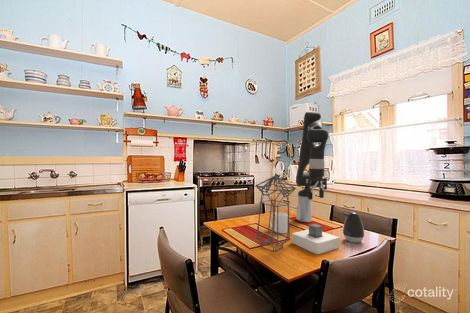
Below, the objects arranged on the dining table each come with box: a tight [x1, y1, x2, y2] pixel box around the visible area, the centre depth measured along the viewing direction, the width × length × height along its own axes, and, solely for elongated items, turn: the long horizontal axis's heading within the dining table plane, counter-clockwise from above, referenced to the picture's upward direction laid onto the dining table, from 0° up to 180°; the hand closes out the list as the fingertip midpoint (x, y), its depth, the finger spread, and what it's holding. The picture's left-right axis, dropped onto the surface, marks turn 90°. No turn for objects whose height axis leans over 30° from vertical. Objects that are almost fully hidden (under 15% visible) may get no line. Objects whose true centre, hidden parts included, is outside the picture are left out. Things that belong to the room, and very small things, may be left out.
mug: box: [267, 211, 288, 235], centre depth 137 cm, size 12×8×10 cm
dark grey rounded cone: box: [342, 211, 365, 244], centre depth 123 cm, size 10×10×15 cm
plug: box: [308, 223, 323, 238], centre depth 116 cm, size 4×4×10 cm
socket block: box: [291, 229, 340, 255], centre depth 116 cm, size 16×16×5 cm
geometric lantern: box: [254, 175, 297, 252], centre depth 112 cm, size 16×16×35 cm
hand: (315, 198), depth 120 cm, fingers open, 8 cm apart
